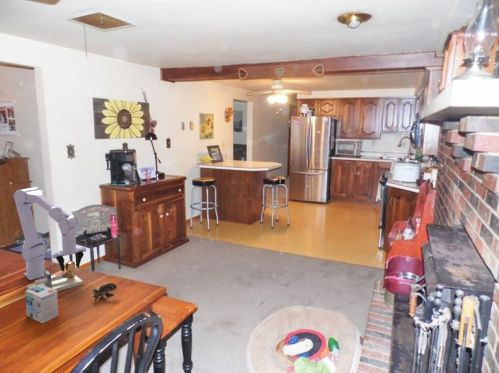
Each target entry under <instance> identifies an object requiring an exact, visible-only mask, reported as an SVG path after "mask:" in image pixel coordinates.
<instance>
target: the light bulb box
mask: <svg viewBox="0 0 499 373" xmlns="http://www.w3.org/2000/svg"><path fill="white" fill-rule="evenodd" d="M24 294H25V309H26V311H25V312H26V317H29V318H30V319H32V320H35V321H36V322H38V323H41V324H44V323H46V322H48V321H51V320H53V319H56V318H57V317H59V302H58V301H59V299H58V291H56V290H54V289H51V288H49V287H46V286H44V285H39V286H37V287H34V288H31V289H29V290H28V289H26V290H24Z"/></svg>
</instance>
